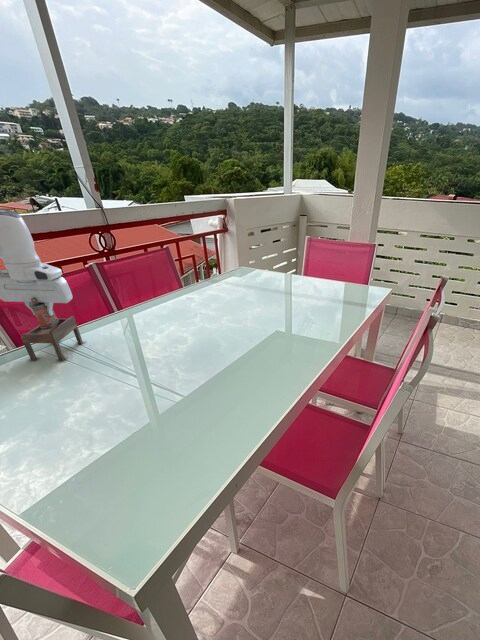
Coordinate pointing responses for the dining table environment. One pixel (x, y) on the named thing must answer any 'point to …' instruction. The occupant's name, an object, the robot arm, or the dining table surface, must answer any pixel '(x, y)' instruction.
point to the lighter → (43, 315)
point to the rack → (51, 336)
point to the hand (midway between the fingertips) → (43, 315)
